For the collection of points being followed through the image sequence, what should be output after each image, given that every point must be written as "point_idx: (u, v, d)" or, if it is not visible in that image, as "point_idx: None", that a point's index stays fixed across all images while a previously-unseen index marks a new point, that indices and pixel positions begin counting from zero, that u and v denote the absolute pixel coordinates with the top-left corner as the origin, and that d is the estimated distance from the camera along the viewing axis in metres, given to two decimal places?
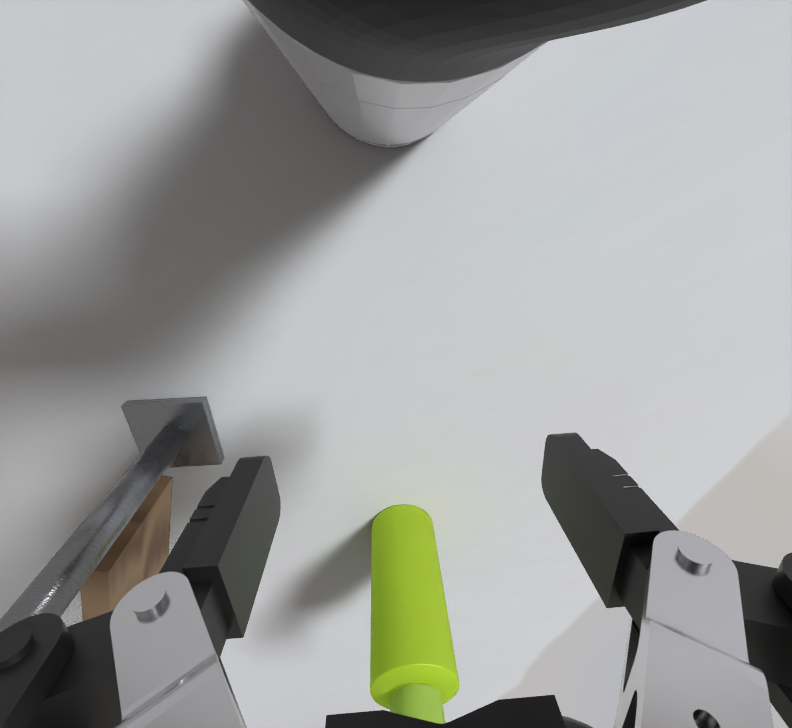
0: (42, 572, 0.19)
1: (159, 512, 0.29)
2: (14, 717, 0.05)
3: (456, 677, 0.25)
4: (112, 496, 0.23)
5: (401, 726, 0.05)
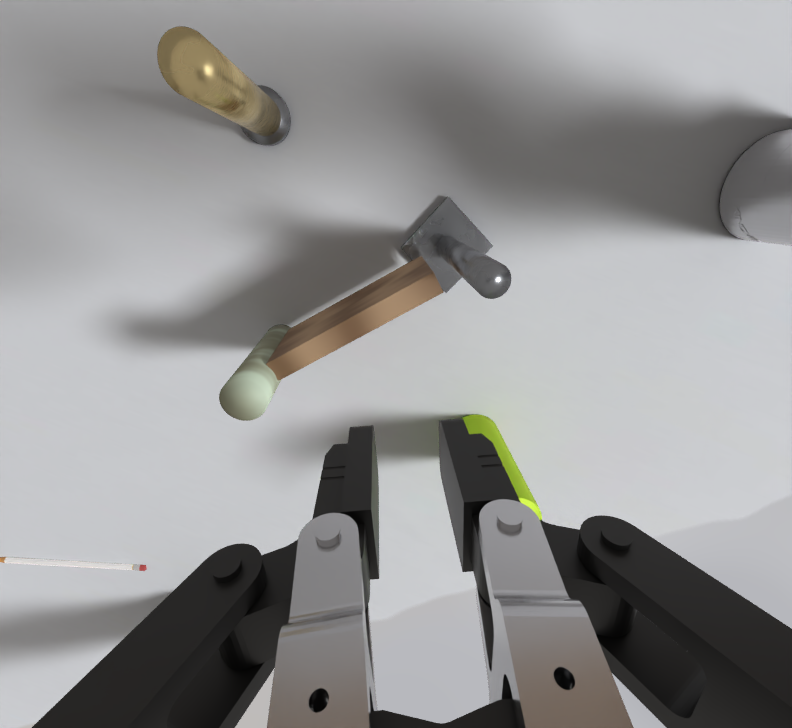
0: (486, 255, 0.24)
1: None
2: (214, 632, 0.06)
3: None
4: None
5: (401, 726, 0.05)
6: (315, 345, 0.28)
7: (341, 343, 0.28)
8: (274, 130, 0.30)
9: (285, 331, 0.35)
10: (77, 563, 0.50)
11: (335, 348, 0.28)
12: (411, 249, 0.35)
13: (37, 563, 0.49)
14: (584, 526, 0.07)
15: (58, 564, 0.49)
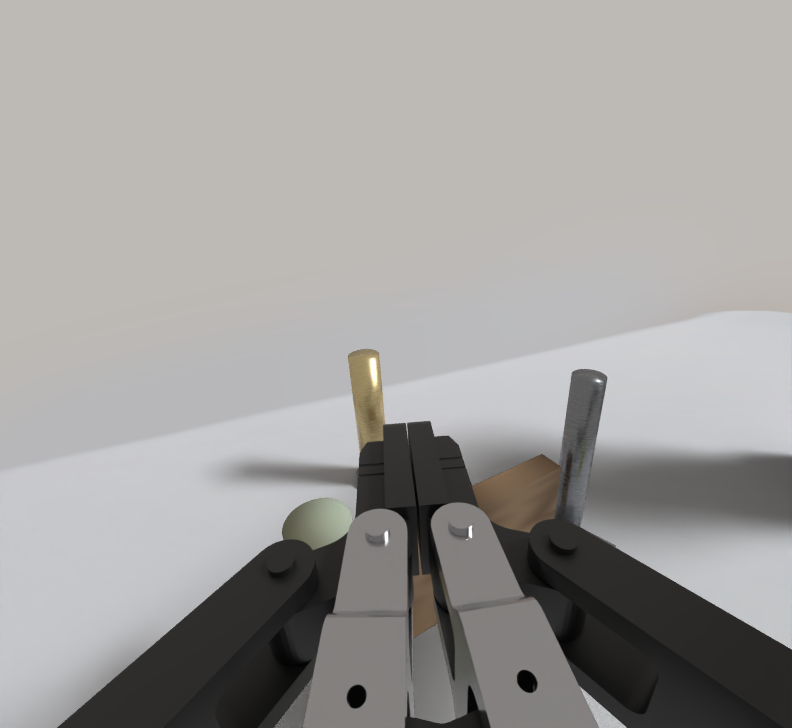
0: None
1: None
2: (265, 628, 0.06)
3: None
4: None
5: None
6: None
7: None
8: None
9: None
10: None
11: None
12: None
13: None
14: (532, 533, 0.07)
15: None
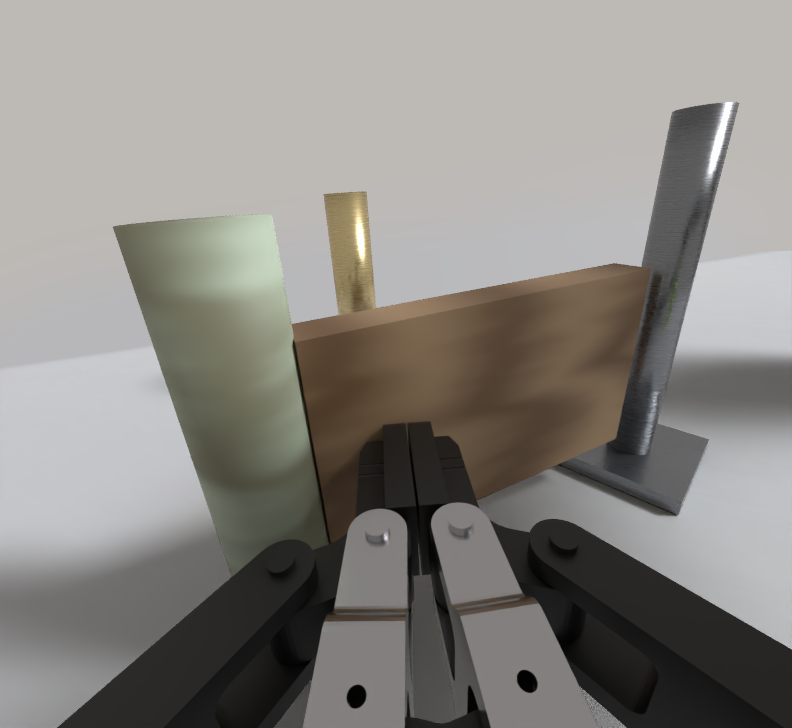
0: None
1: (597, 414, 0.17)
2: (265, 628, 0.06)
3: None
4: None
5: None
6: (414, 306, 0.12)
7: (475, 302, 0.12)
8: None
9: None
10: None
11: (462, 306, 0.12)
12: None
13: None
14: (533, 533, 0.07)
15: None
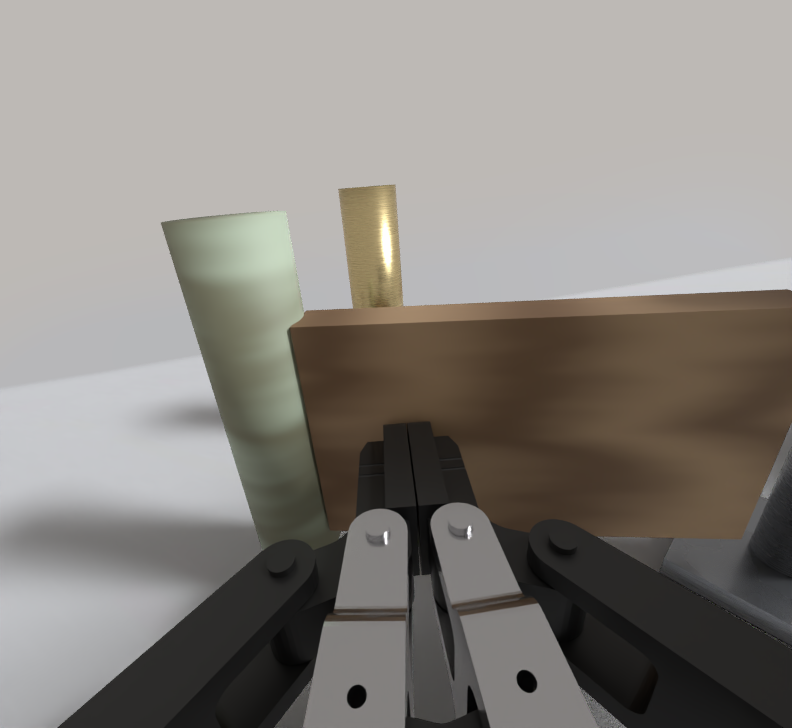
0: None
1: (700, 494, 0.12)
2: (265, 627, 0.06)
3: None
4: None
5: None
6: (431, 310, 0.11)
7: (494, 316, 0.10)
8: None
9: None
10: None
11: (473, 319, 0.10)
12: (692, 559, 0.14)
13: None
14: (532, 533, 0.07)
15: None
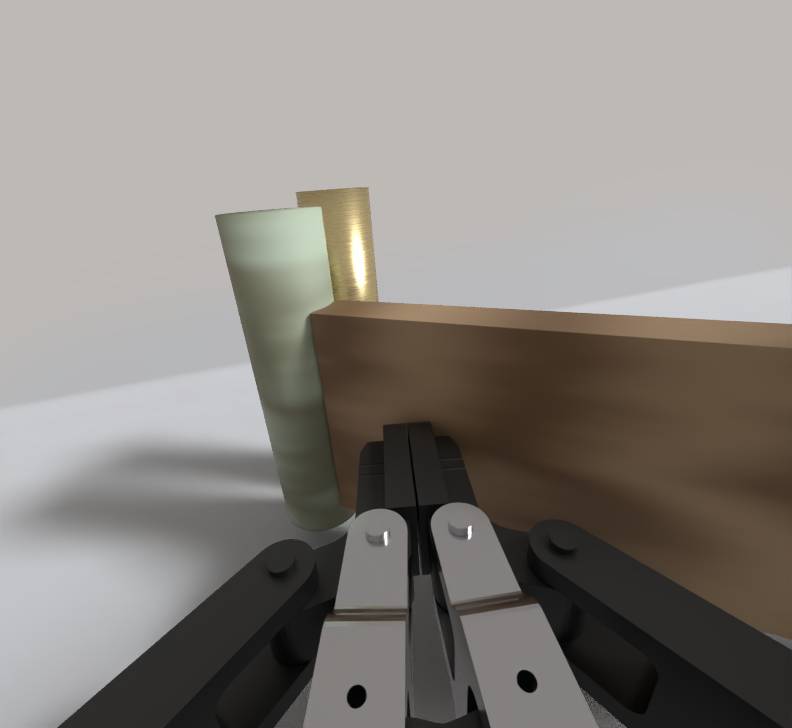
0: None
1: (747, 572, 0.10)
2: (265, 627, 0.06)
3: None
4: None
5: None
6: (442, 311, 0.11)
7: (497, 324, 0.10)
8: None
9: None
10: None
11: (474, 324, 0.10)
12: None
13: None
14: (532, 533, 0.07)
15: None
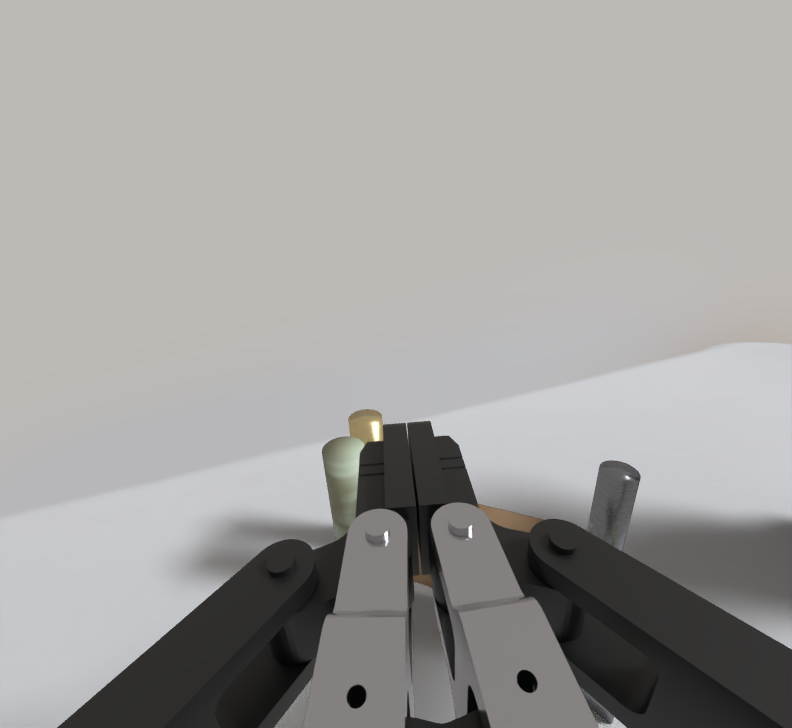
0: None
1: None
2: (265, 627, 0.06)
3: None
4: None
5: None
6: None
7: None
8: None
9: None
10: None
11: None
12: None
13: None
14: (532, 533, 0.07)
15: None
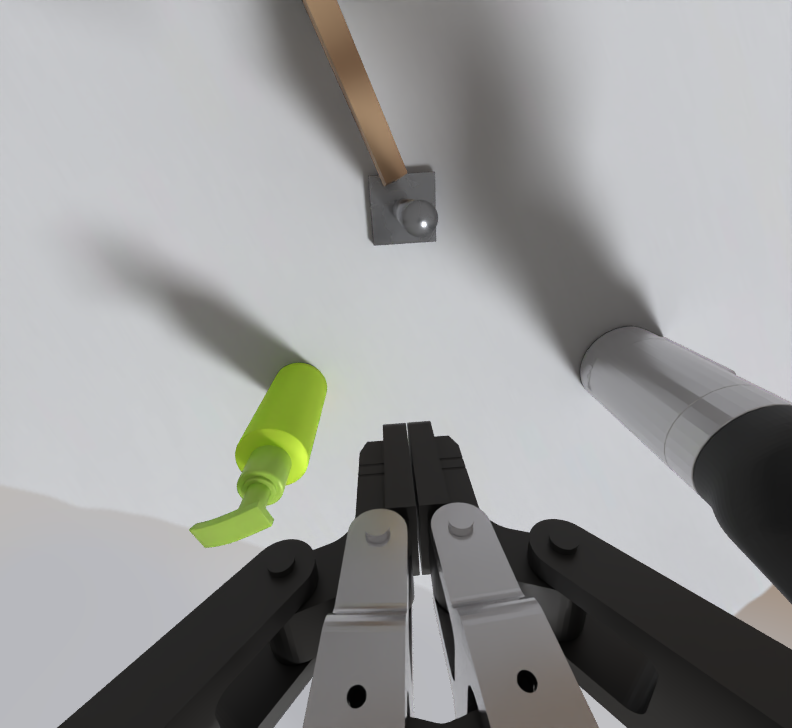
0: None
1: (375, 164, 0.31)
2: (265, 627, 0.06)
3: (290, 483, 0.33)
4: None
5: None
6: (326, 1, 0.22)
7: (328, 43, 0.23)
8: None
9: None
10: None
11: (322, 32, 0.22)
12: (375, 184, 0.35)
13: None
14: (532, 533, 0.07)
15: None
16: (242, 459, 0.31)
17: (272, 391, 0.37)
